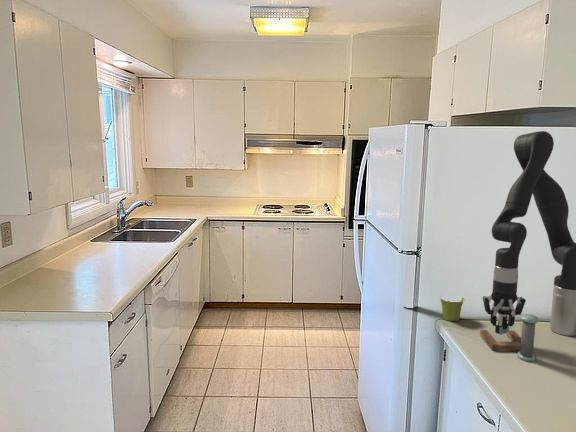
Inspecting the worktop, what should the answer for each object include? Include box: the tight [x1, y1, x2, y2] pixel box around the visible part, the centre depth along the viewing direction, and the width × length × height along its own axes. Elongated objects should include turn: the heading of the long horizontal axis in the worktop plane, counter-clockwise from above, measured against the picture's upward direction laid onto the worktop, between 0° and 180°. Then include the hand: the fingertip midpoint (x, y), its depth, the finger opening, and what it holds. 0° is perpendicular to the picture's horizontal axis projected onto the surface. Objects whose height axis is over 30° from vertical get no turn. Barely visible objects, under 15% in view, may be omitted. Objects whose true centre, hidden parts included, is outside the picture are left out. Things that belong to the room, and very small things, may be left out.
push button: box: [494, 306, 512, 335], centre depth 152 cm, size 7×5×10 cm
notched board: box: [479, 329, 521, 352], centre depth 151 cm, size 12×12×2 cm
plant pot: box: [438, 296, 465, 322], centre depth 172 cm, size 9×9×9 cm
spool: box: [517, 313, 539, 363], centre depth 140 cm, size 5×5×14 cm
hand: (501, 325), depth 152 cm, fingers closed on push button, 5 cm apart
